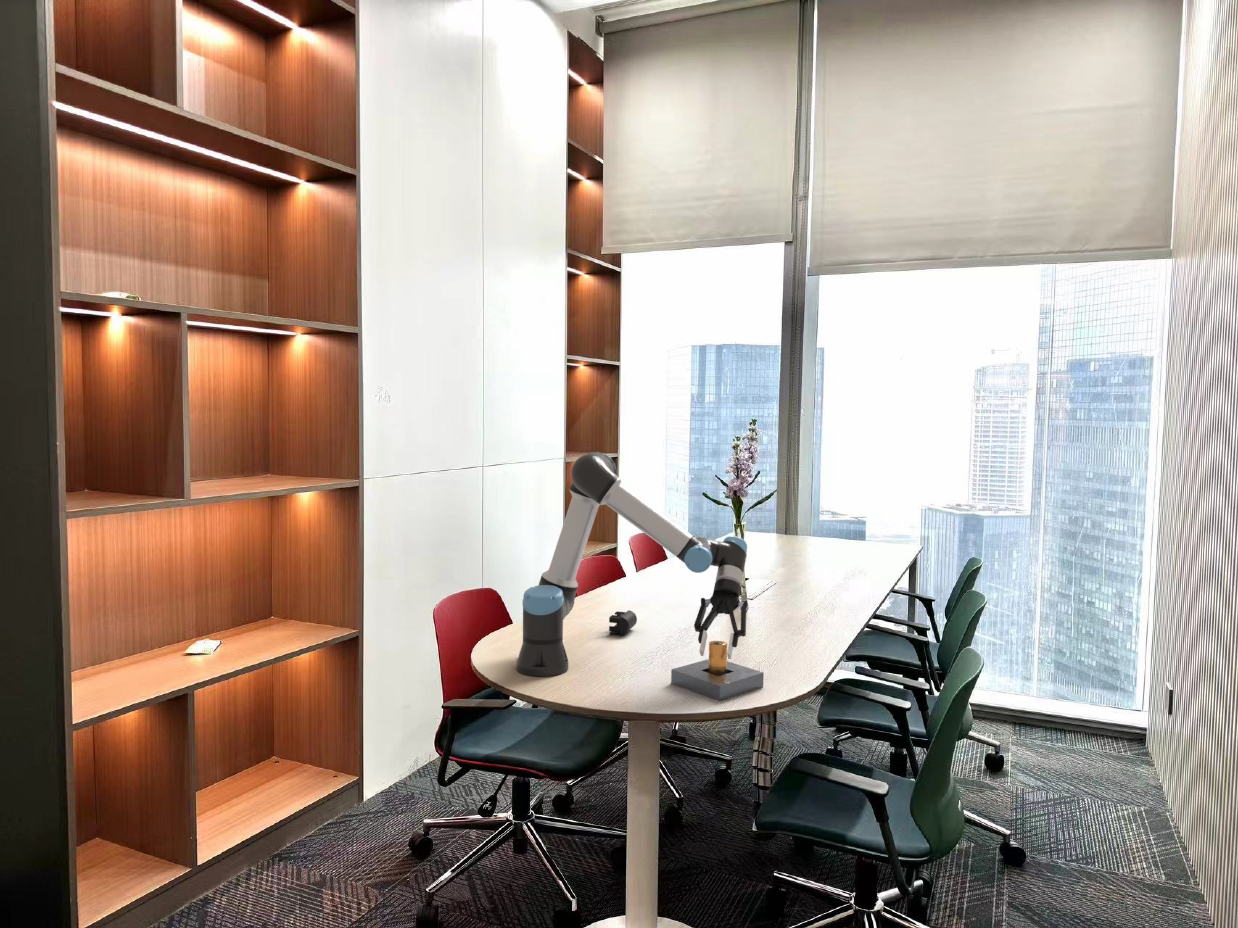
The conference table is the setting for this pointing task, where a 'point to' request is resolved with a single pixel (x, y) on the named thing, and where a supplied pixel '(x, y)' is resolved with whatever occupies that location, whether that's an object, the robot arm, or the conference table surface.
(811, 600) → the conference table surface
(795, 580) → the conference table surface
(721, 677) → the jig
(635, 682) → the conference table surface
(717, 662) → the bushing
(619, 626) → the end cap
